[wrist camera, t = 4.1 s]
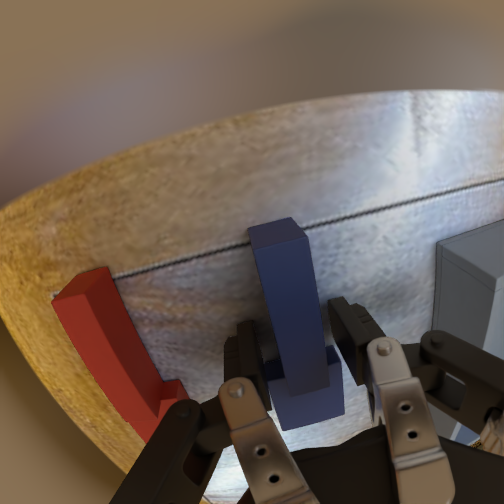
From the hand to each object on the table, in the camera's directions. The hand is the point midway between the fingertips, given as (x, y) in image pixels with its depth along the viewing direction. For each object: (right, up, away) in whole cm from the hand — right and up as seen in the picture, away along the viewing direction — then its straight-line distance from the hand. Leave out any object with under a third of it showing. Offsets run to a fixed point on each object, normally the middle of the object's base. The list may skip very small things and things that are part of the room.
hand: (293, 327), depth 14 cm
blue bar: (0, 0, 0) cm, 1 cm away
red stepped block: (-8, -2, 0) cm, 8 cm away
